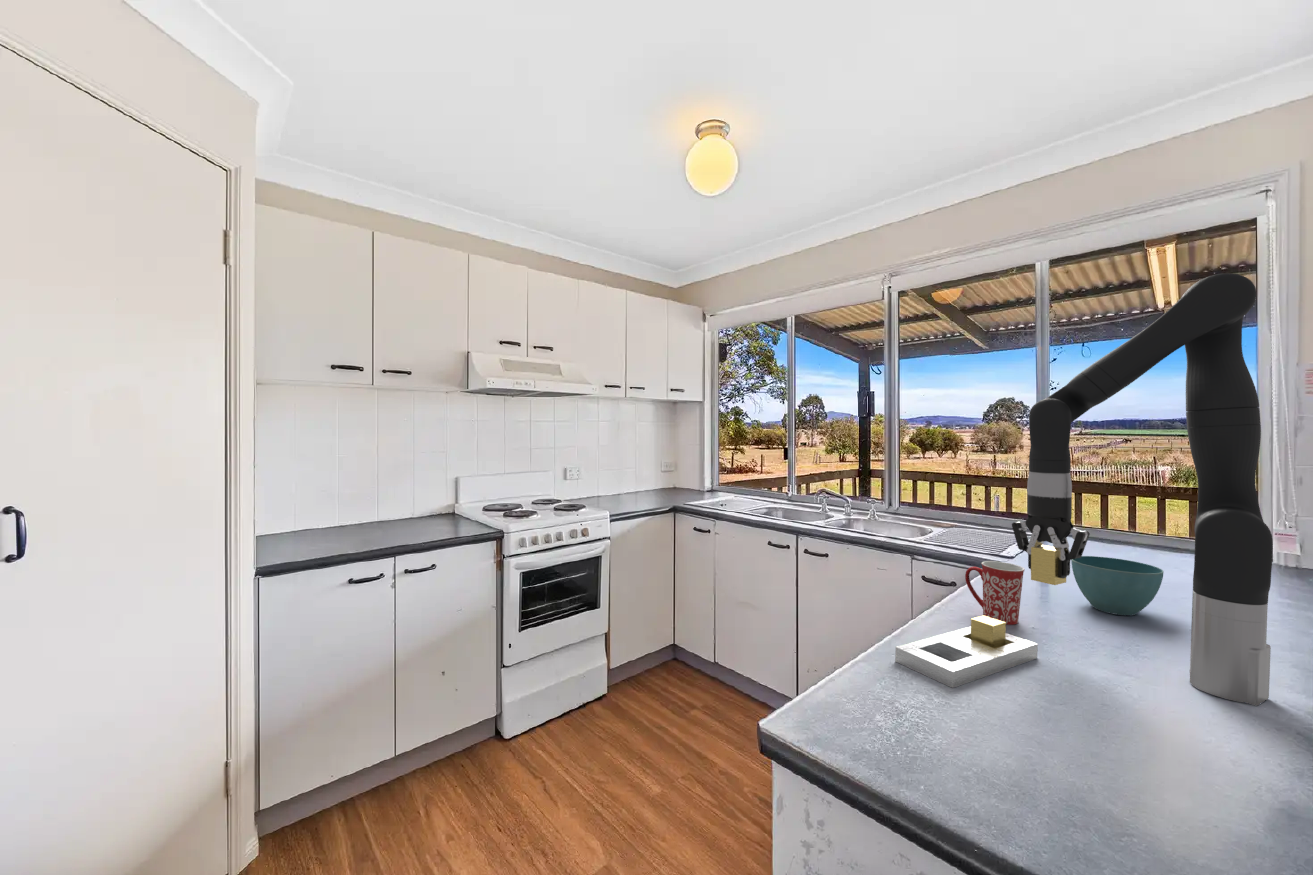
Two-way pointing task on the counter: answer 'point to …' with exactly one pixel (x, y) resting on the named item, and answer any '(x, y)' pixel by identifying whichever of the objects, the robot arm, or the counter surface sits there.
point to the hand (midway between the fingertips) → (1048, 574)
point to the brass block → (1045, 565)
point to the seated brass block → (988, 631)
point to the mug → (999, 590)
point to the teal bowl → (1116, 583)
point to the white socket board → (963, 656)
